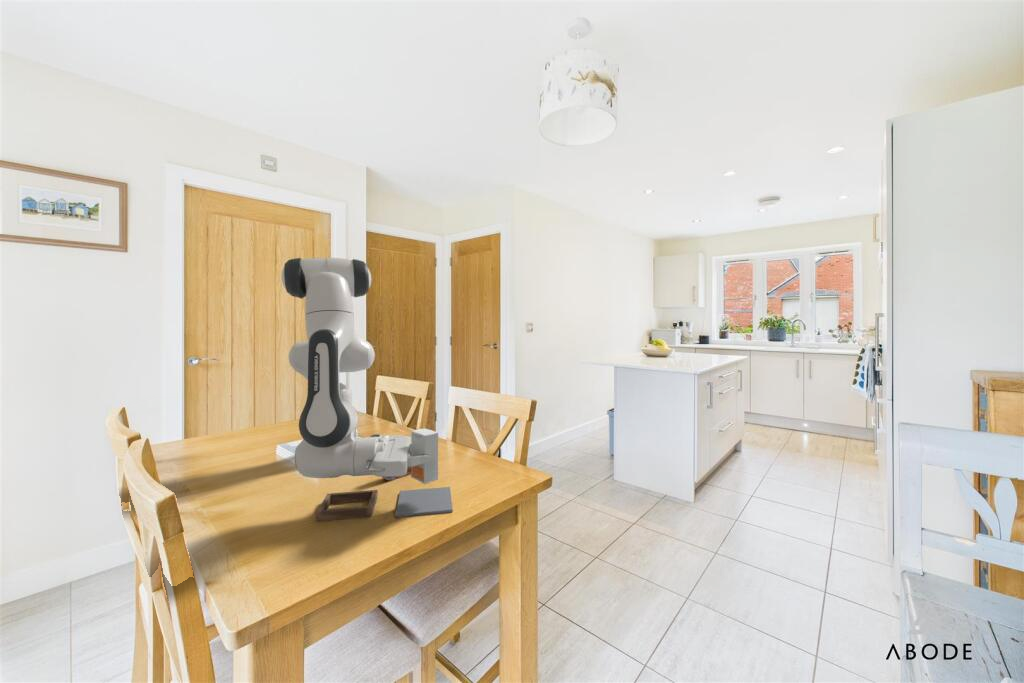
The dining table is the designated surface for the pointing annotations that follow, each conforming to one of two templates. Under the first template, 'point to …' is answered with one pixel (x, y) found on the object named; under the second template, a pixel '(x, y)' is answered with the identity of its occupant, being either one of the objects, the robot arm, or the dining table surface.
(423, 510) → the slate mat
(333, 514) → the walnut collar
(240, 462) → the dining table surface
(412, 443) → the skincare box
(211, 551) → the dining table surface
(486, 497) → the dining table surface
